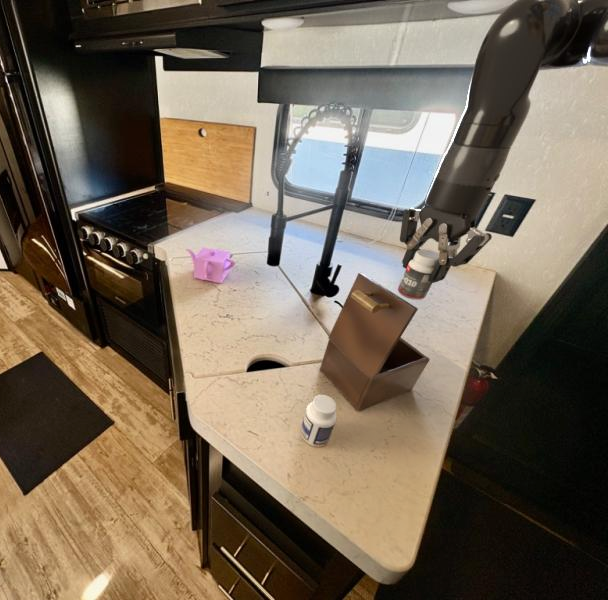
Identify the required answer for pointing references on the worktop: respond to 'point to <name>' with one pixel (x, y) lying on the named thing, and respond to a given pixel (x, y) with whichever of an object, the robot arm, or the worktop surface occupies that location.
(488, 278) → the worktop surface
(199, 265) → the teapot
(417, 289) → the pill bottle
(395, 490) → the worktop surface
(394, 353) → the chest
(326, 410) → the pill bottle
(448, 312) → the worktop surface
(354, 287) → the lid
